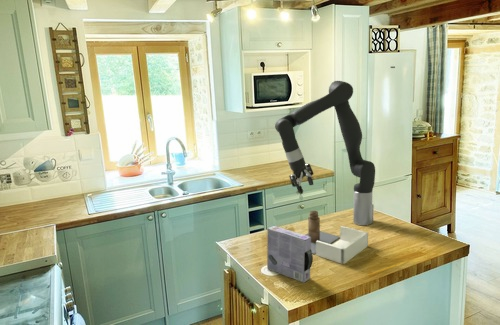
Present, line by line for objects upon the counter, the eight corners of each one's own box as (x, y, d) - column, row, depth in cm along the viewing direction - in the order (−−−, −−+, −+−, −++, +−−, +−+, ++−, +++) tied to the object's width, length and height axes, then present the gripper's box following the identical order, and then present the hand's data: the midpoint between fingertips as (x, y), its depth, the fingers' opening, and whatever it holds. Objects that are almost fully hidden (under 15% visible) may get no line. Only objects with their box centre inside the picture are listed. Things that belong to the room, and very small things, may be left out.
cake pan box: (313, 279, 143) (313, 236, 139) (306, 284, 139) (305, 240, 135) (274, 264, 155) (272, 224, 151) (266, 269, 152) (264, 228, 148)
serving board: (314, 231, 186) (314, 229, 186) (339, 238, 176) (339, 236, 176) (287, 247, 170) (287, 244, 170) (313, 255, 161) (313, 253, 161)
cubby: (341, 239, 175) (341, 225, 174) (367, 247, 166) (368, 232, 165) (316, 256, 160) (315, 241, 159) (343, 265, 151) (343, 249, 150)
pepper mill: (315, 237, 177) (315, 209, 173) (322, 241, 172) (322, 212, 169) (306, 239, 174) (305, 211, 171) (312, 243, 170) (312, 214, 167)
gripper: (292, 163, 170) (303, 195, 174) (309, 151, 179) (320, 182, 183) (280, 165, 176) (292, 195, 180) (298, 153, 185) (309, 182, 188)
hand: (306, 188), depth 181 cm, fingers open, 8 cm apart
